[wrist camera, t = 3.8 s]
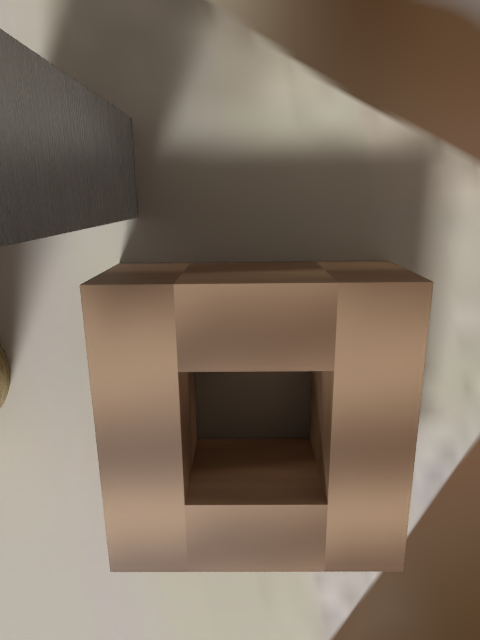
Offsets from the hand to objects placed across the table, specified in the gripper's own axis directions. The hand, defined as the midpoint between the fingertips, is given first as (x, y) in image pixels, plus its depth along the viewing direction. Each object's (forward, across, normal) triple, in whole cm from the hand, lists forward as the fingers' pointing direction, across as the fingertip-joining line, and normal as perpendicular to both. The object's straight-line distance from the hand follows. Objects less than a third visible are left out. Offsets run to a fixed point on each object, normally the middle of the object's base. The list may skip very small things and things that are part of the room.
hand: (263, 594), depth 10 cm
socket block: (+12, 0, 0) cm, 12 cm away
